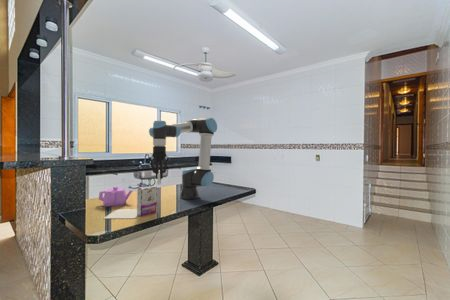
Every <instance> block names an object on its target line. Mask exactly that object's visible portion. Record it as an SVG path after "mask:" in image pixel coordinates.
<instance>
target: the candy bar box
mask: <svg viewBox="0 0 450 300" xmlns="http://www.w3.org/2000/svg"><path fill="white" fill-rule="evenodd" d="M136 192H137V194H136V196H137V198H136V201H137V202H136V204H137V205H136V209H137V215H138V217H139V216H140V217H145V216H149V215H152V214H156V213H158V212H157V210H158V209H157V207H158V206H157V204H158V186H155V185H151V186H145V187H144V186H143V187H137V191H136Z"/></svg>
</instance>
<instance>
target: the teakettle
mask: <svg viewBox="0 0 450 300" xmlns="http://www.w3.org/2000/svg"><path fill="white" fill-rule="evenodd" d="M132 193H133V189H132V190H131V189H130V190H128V193H127V191H126V188H125V187H124V188H123V187H121V188H119V187H118V186H112V188H107V189H106V190H100V191H99V195H98V200H99V201H102V202H103V207H118V206H119V207H122V206H125V204H126V203H127V200H128V199H129V197H130V196H131V195H132Z"/></svg>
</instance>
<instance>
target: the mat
mask: <svg viewBox="0 0 450 300" xmlns="http://www.w3.org/2000/svg"><path fill="white" fill-rule="evenodd" d="M137 217H139V215H137V208H127V209H126V208H119V209H118V208H117V209H116V210H114V211H113V212H111V213H109V214H107V215H105V217H103V220H107V219H108V220H109V219H110V220H112V219H113V220H117V219H118V220H124V219H126V220H134V219H136V218H137Z"/></svg>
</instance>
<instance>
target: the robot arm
mask: <svg viewBox="0 0 450 300" xmlns="http://www.w3.org/2000/svg"><path fill="white" fill-rule="evenodd" d="M217 130H218V123H217V121H216V119H214V118H213V117H202V118H194V119H190V120H185V121H184V122H179V123H171V124H167V121H166V120H154V121H153V125H152V126H150V127H149V129H148V133H149V135H150V137H151V138H152V145H153V146H152V155H151V156H150V157H148V160H149V163H150V166H151V170H152V173H153V174H155V179H156V180H157V183H156V184H157V186H158V185H161V184H162V179H164V177H163V176H164V173H166V172H167V168H168V165H169V161H170V158H171V157H169V156H168V155H167V151H166V150H167V149H166V148H167V147H166V144H167V138H178V137H179V136H180V135H181V133H182V134H183V133H188V134H189V133H195V134H197V133H198V134H199V136H200V140H199V154H198V156H199V157H198V166H197V167H196V168H188V169H183V170H182V171H181V172H182V173H181V174H182V175H181V183H182V184H181V186H182V187H181V191H180V194H179V199H182V200H196V199H199V198H200V197H199V196H200V195H199V191H198V188H197V187H204V188H205V187H210V186H211V185H212V184H213V182H214V179H215V178H214V177H215V176H214V173H213V172H212V169H211V168H210V162H211V150H212V148H211V147H212V137H214V136H215V135H214V133H216V132H217ZM154 160H155V162H154ZM164 160H165V162H164Z"/></svg>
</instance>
